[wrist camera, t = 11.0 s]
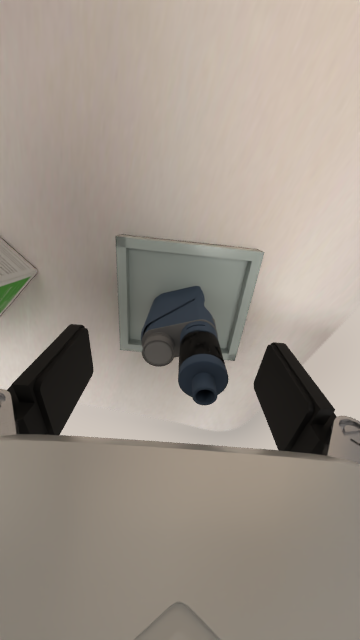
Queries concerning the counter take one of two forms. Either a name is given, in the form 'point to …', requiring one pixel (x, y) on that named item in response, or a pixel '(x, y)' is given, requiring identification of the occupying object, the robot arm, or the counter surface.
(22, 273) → the skincare box
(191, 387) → the vaping device
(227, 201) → the counter surface
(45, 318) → the counter surface
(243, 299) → the tray
